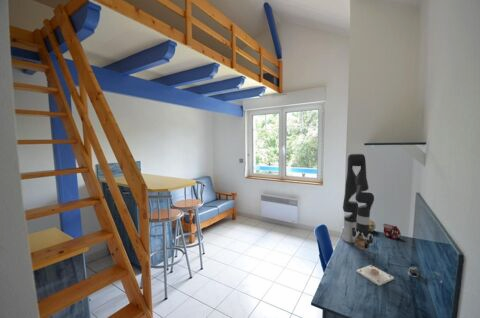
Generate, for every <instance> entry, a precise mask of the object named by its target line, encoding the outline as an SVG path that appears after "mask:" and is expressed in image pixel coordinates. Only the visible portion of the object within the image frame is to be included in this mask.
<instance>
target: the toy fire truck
mask: <svg viewBox="0 0 480 318" xmlns="http://www.w3.org/2000/svg"><path fill="white" fill-rule="evenodd" d="M382 227H383V235H384V236H385V238H389V237H391V239H393V240H397V239H398V238H401V235H402V234H401V231H400V229H399V228H398V226H397V225H392V224H389V223H383V226H382Z"/></svg>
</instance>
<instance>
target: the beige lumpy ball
mask: <svg viewBox="0 0 480 318" xmlns="http://www.w3.org/2000/svg"><path fill="white" fill-rule="evenodd" d="M374 230H376V224H375V222H374V220H373V219H371V218H370V227H369V232H373V233H374Z"/></svg>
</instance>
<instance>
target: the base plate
mask: <svg viewBox="0 0 480 318" xmlns="http://www.w3.org/2000/svg"><path fill="white" fill-rule="evenodd" d="M356 273H358V274H359V275H361V276H362V277H364V278H365V279H368V280H369V281H371V282H372V283H374V284H376V285H377V286H379V287H380V286H382V285H384V284H387V283H388V282H391V281H393V280H395V278H394V276H392V275H391V274H389V273H387V272H385V271H383V270H382V269H380V268H378V267H375V266H374V265H372V264H369V265H366V266H364V267H361V268H358V269H356Z"/></svg>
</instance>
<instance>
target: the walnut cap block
mask: <svg viewBox="0 0 480 318" xmlns="http://www.w3.org/2000/svg"><path fill="white" fill-rule="evenodd" d="M353 244H354V247H356V248H357V249H360V250H362V251H366V250H368V249H369V248H367V249H365V240H364V239H363V237H361V236H359V237H355V243H353Z"/></svg>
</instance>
